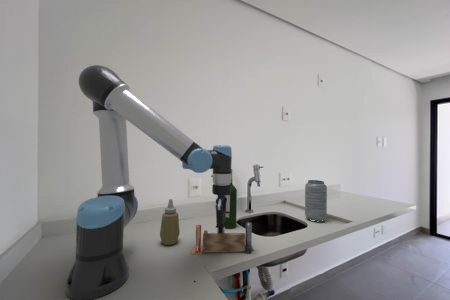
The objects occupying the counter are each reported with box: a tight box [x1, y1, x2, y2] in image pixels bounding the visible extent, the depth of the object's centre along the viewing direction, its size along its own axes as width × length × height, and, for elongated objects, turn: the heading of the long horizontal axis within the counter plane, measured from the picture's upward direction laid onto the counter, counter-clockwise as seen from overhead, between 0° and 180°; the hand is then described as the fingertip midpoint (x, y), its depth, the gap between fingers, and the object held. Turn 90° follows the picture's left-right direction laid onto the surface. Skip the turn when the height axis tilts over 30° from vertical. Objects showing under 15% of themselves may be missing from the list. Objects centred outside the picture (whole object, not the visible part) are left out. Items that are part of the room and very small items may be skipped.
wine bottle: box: [225, 168, 238, 230], centre depth 102 cm, size 8×8×30 cm
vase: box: [304, 179, 328, 221], centre depth 115 cm, size 12×12×23 cm
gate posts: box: [190, 221, 255, 256], centre depth 76 cm, size 24×7×11 cm, turn 92°
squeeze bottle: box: [159, 199, 181, 246], centre depth 82 cm, size 8×8×18 cm
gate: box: [202, 229, 245, 253], centre depth 74 cm, size 16×2×7 cm, turn 94°
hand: (220, 243), depth 77 cm, fingers closed
